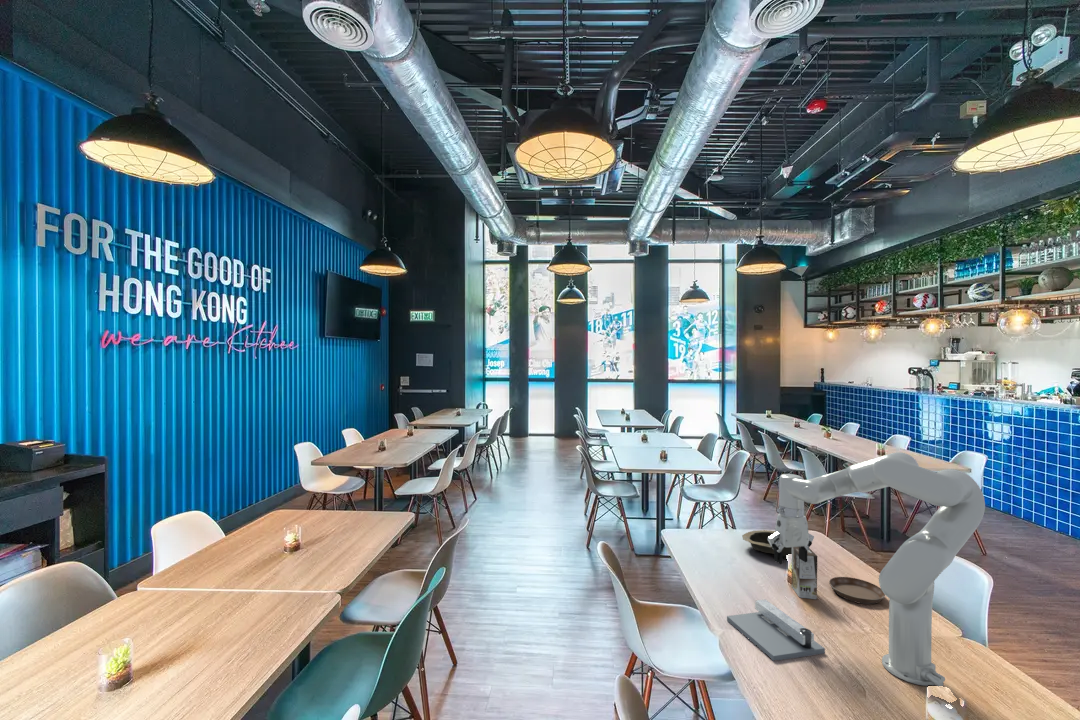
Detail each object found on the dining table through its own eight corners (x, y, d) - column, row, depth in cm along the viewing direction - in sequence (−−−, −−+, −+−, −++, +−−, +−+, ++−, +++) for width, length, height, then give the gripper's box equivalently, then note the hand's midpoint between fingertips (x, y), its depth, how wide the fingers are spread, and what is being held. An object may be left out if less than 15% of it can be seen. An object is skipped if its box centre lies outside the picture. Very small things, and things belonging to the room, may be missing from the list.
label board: (824, 653, 140) (824, 647, 140) (773, 661, 136) (773, 654, 136) (772, 614, 162) (772, 609, 162) (726, 620, 157) (727, 615, 157)
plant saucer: (849, 607, 168) (849, 598, 168) (819, 583, 186) (819, 576, 186) (897, 607, 168) (897, 599, 168) (862, 584, 186) (862, 576, 186)
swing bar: (815, 647, 140) (815, 632, 140) (803, 649, 139) (804, 634, 139) (765, 610, 161) (765, 597, 161) (755, 611, 160) (755, 598, 160)
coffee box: (817, 599, 172) (818, 556, 172) (798, 597, 174) (799, 554, 174) (808, 588, 181) (809, 546, 181) (790, 586, 183) (791, 545, 183)
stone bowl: (814, 563, 204) (813, 542, 204) (757, 567, 204) (755, 546, 204) (785, 541, 228) (783, 522, 228) (734, 544, 228) (732, 525, 228)
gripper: (776, 516, 154) (776, 568, 154) (821, 513, 157) (821, 564, 157) (761, 509, 161) (761, 558, 161) (804, 506, 164) (804, 555, 164)
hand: (790, 561), depth 159 cm, fingers open, 9 cm apart
